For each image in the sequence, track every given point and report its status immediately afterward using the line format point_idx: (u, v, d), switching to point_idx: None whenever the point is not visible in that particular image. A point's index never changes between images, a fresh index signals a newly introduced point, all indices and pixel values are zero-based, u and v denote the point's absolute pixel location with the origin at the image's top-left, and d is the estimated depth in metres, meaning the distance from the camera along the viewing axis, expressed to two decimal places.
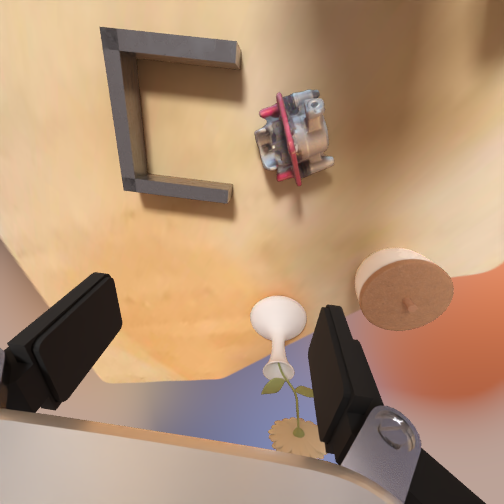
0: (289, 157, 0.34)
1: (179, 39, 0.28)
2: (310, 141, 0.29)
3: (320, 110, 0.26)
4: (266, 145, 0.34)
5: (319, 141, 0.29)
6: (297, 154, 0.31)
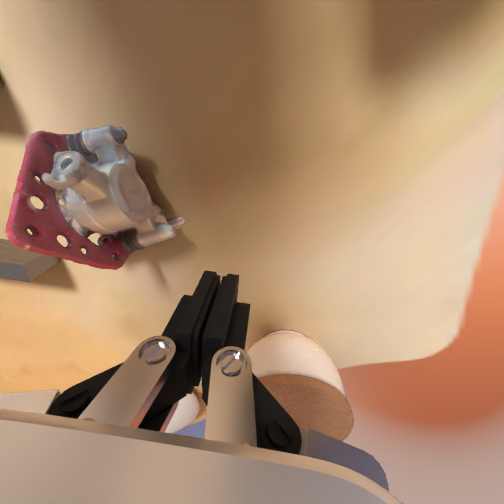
0: None
1: None
2: (95, 215, 0.17)
3: (64, 177, 0.14)
4: None
5: (111, 216, 0.18)
6: (89, 230, 0.19)
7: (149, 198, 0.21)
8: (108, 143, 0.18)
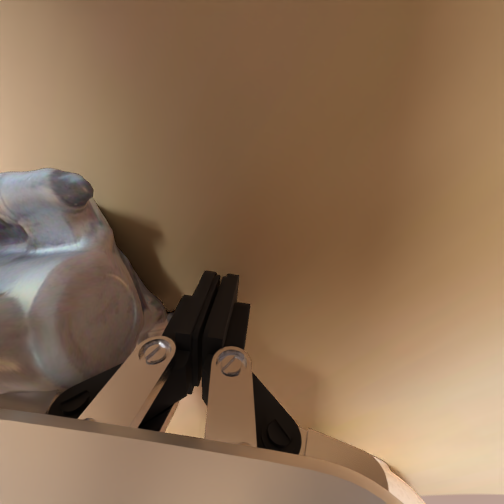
0: None
1: None
2: None
3: None
4: None
5: None
6: None
7: (138, 309, 0.10)
8: (47, 208, 0.08)
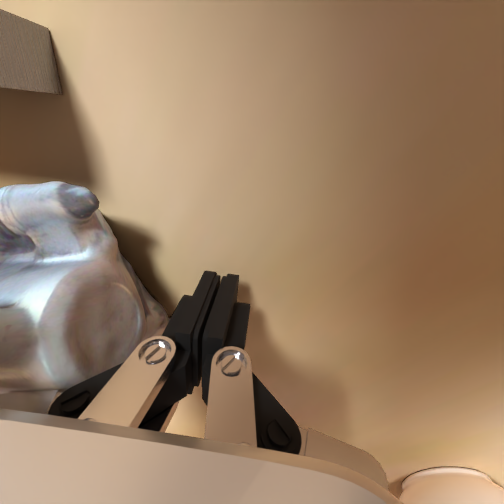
0: None
1: None
2: None
3: None
4: None
5: None
6: None
7: (141, 315, 0.10)
8: (54, 220, 0.08)
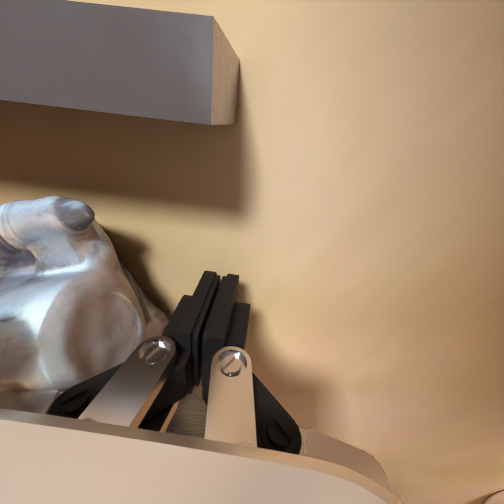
0: None
1: None
2: None
3: None
4: None
5: None
6: None
7: (141, 323, 0.11)
8: (52, 233, 0.09)
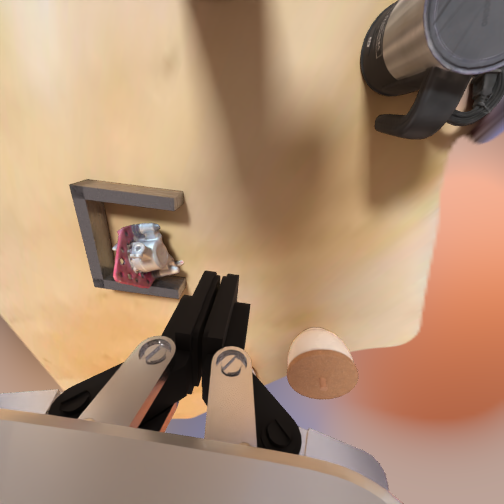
0: None
1: (130, 195, 0.37)
2: (144, 265, 0.39)
3: (138, 255, 0.35)
4: None
5: (151, 266, 0.39)
6: None
7: (167, 254, 0.42)
8: (151, 231, 0.40)
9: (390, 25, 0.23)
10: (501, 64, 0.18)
